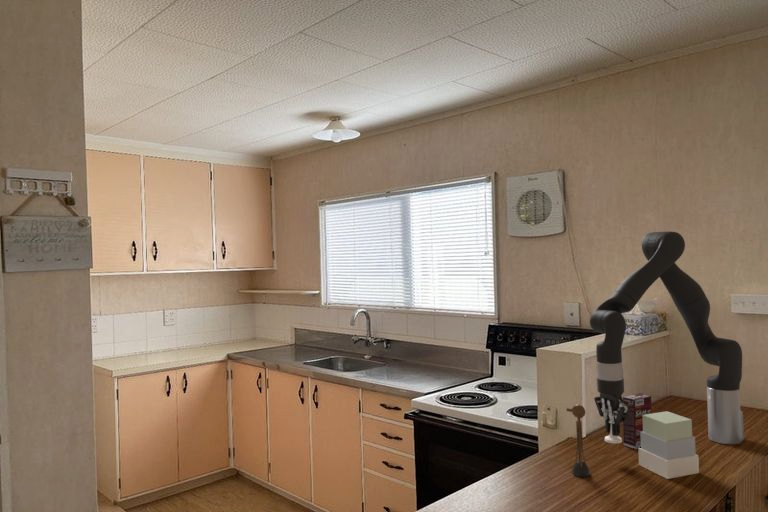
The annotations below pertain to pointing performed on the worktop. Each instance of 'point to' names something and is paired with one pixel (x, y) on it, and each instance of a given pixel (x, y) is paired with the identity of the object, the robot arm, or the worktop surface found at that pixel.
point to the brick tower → (668, 445)
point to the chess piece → (612, 436)
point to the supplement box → (635, 418)
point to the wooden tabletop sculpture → (579, 443)
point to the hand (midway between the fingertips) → (612, 433)
